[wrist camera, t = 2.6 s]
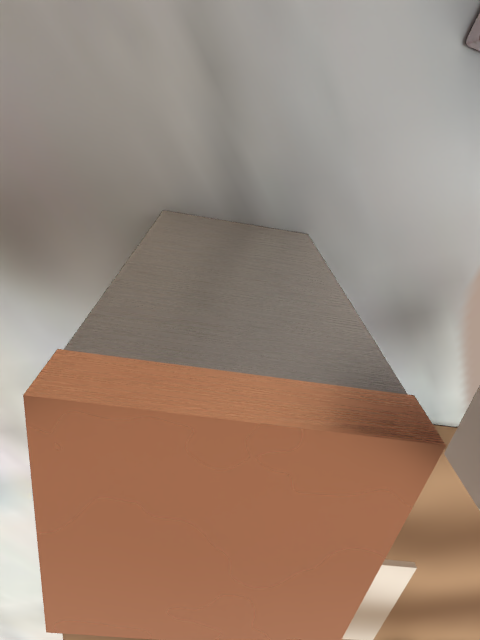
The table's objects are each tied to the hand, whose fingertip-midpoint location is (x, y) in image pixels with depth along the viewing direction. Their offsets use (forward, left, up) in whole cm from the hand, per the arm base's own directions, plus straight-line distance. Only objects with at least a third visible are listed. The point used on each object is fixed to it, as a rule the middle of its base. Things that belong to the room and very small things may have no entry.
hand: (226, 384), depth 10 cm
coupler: (0, 0, -5) cm, 5 cm away
